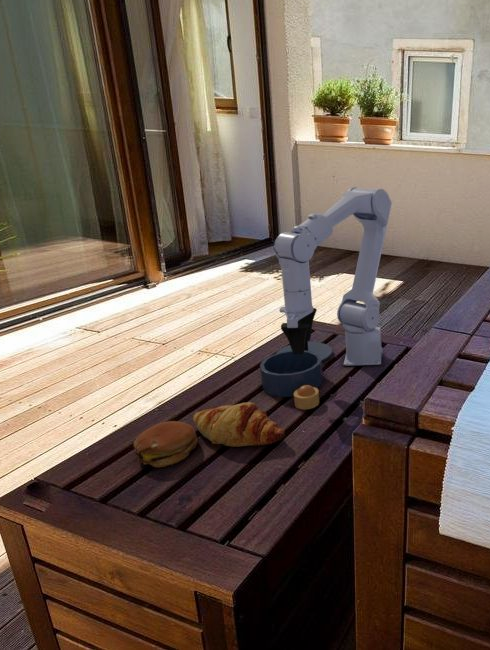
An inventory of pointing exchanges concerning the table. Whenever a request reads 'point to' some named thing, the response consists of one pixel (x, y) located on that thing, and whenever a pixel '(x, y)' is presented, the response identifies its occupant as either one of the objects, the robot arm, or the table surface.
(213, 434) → the croissant
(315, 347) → the lid
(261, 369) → the pot
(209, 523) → the table surface
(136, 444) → the burger
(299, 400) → the ball in tan cup
